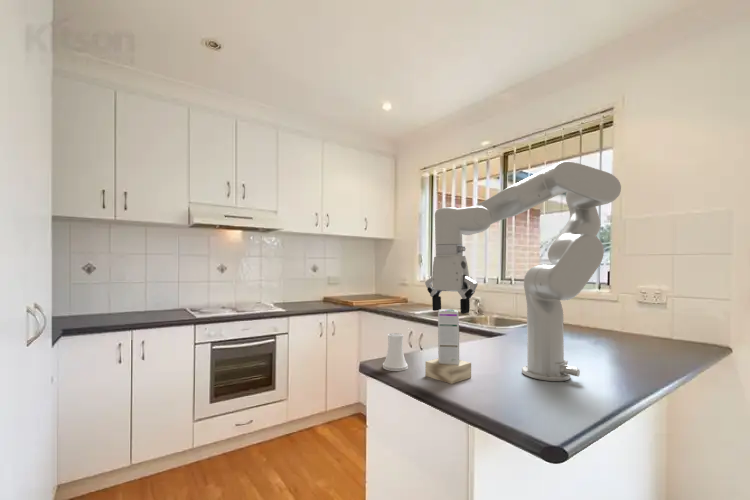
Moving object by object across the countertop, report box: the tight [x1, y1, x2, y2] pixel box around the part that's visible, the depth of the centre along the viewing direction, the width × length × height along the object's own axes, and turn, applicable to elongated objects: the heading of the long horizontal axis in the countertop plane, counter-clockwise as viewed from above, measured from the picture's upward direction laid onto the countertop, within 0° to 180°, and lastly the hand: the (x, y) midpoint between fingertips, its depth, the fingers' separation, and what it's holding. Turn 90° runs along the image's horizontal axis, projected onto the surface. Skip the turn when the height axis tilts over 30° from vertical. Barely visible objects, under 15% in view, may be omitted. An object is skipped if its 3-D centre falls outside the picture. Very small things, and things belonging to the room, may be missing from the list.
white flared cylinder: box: [382, 332, 409, 372], centre depth 110 cm, size 8×8×10 cm
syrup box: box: [437, 308, 460, 365], centre depth 102 cm, size 6×6×14 cm
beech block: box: [424, 357, 472, 385], centre depth 102 cm, size 9×9×4 cm
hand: (450, 311), depth 102 cm, fingers open, 9 cm apart
